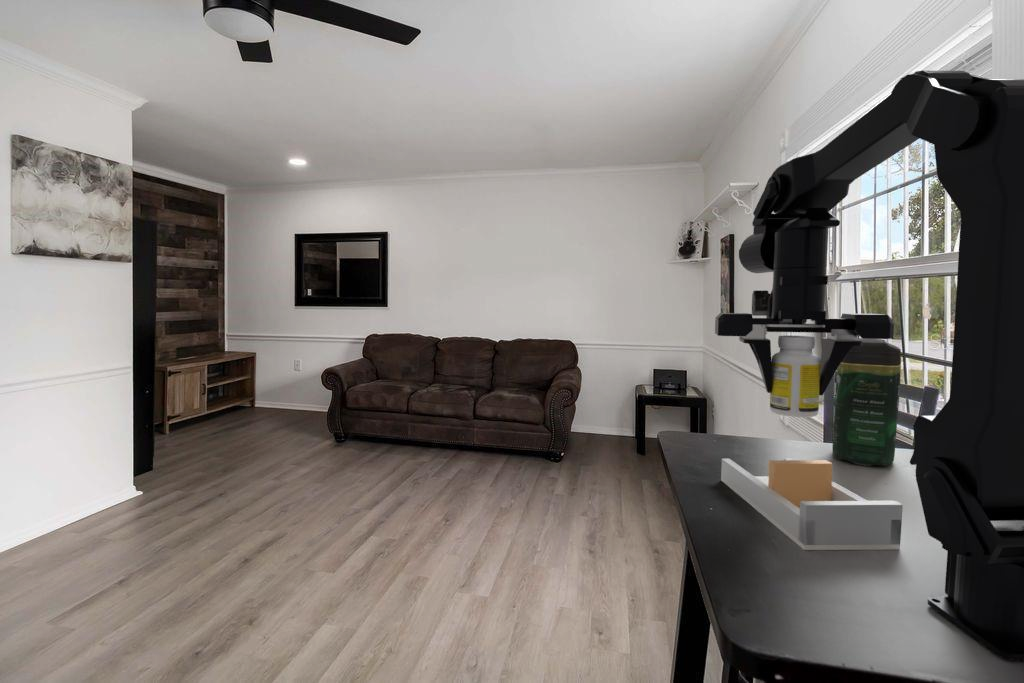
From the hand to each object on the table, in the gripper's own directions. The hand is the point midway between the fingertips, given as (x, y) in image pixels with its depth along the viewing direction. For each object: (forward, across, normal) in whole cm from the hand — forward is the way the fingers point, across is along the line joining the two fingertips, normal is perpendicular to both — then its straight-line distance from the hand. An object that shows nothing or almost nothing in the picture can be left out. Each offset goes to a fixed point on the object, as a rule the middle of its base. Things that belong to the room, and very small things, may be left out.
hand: (794, 393), depth 63 cm
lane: (+12, +1, +7) cm, 14 cm away
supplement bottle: (+3, 0, 0) cm, 3 cm away
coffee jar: (+13, -13, -18) cm, 26 cm away
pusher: (+12, +1, +7) cm, 14 cm away
